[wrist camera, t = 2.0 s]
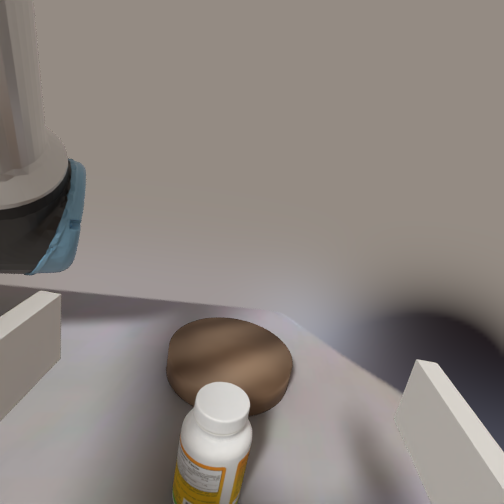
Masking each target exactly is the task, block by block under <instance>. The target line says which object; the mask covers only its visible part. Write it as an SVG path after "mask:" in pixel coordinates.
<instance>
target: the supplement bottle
mask: <svg viewBox="0 0 504 504" xmlns="http://www.w3.org/2000/svg"><path fill="white" fill-rule="evenodd" d="M249 410H250V401H249V398H248V396H247V394H246V393H245V392H244V391H243V390H242V389H241V388H240V387H238V386H236V385H234V384H231V383H227V382H213V383H210V384H207V385H205V386H204V387H202V388H201V389H200V390H199V392H198V393H197V396H196V400H195V405H194V408H193V409H192V410H191V411H190V412H189V413H188V414H187V415H186V417H185V419H184V421H183V424H182V428H181V434H180V440H179V447H178V455H177V462H176V468H175V475H174V482H173V489H172V499H173V504H237V502H238V499H239V495H240V490H241V486H242V481H243V477H244V473H245V468H246V464H247V460H248V456H249V452H250V447H251V442H252V427H251V424H250V422H249V420H248V415H249Z"/></svg>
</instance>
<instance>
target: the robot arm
mask: <svg viewBox="0 0 504 504" xmlns="http://www.w3.org/2000/svg"><path fill="white" fill-rule="evenodd" d="M85 185H86V171H85V167H84V166H83V165H82V164H81V163H79V162H76V161H74V160H73V159H68V157H67V152H66V149H65V146H64V145H63V143H62V141H61V140H60V139H59V137H58V136H57V135H56V134H55V133H54V132H53V131H51V130H50V129H49V128H48V127H46V126H45V117H44V107H43V96H42V86H41V76H40V65H39V54H38V44H37V33H36V24H35V13H34V3H33V0H0V273H9V274H10V273H11V274H24V275H34V274H36V273H54V272H61V271H64V270H65V269H67V268H68V267H69V266H70V265H71V264H72V263H73V260H74V258H75V255H76V251H77V246H78V240H79V234H80V223H81V219H82V214H83V207H84V198H85ZM60 358H61V294H58V293H52V292H47V291H41V290H40V291H39V292H37V293H35V294H34V295H32V296H31V297H29V298H28V299H26V300H25V301H23V302H22V303H20V304H19V305H17V306H16V307H14V308H13V309H11V310H10V311H8V312H7V313H5V314H4V315H2V316H1V317H0V421H1V420H2V419H3V418H4V417H5V416H6V415H7V414H8V413H9V412H10V411H11V410H12V409H13V408H14V407H15V406H16V405H17V403H18V402H19V401H20V400H21V399H22V398H23V397H24V396H25V395H26V394H27V393H28V392H29V391H30V390H31V389H32V388H33V387H34V386H35V385H36V384H37V383H38V381H39V380H40V379H41V378H42V377H43V376H44V375H45V374H46V373H47V372H48V371H49V370H50V369H51V368H52V367H53V366H54V365H55V364H56V363H57V362H58V361H59V360H60ZM394 421H395V423H396V425H397V427H398V430H399V432H400V434H401V436H402V439H403V441H404V443H405V445H406V448H407V450H408V452H409V454H410V457H411V459H412V461H413V463H414V466H415V468H416V470H417V472H418V475H419V477H420V479H421V481H422V484H423V486H424V488H425V490H426V493H427V495H428V497H429V499H430V502H431V504H504V452H503V451H502V449H501V448H500V447H499V445H498V444H497V443H496V441H495V440H494V439H493V437H492V436H491V435H490V433H489V432H488V431H487V429H486V428H485V427H484V425H483V424H482V423H481V421H480V420H479V419H478V417H477V416H476V415H475V413H474V412H473V411H472V409H471V408H470V407H469V405H468V404H467V403H466V401H465V400H464V399H463V397H462V396H461V395H460V393H459V392H458V391H457V389H456V388H455V387H454V385H453V384H452V382H451V381H450V380H449V378H448V377H447V376H446V374H445V373H444V372H443V370H442V369H441V368H440V367H439V365H438V364H437V363H433V362H428V361H422V360H416V362H415V365H414V367H413V370H412V372H411V375H410V378H409V380H408V383H407V385H406V388H405V391H404V393H403V396H402V398H401V401H400V404H399V406H398V409H397V412H396V414H395V417H394Z"/></svg>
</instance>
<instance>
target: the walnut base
mask: <svg viewBox="0 0 504 504" xmlns="http://www.w3.org/2000/svg"><path fill="white" fill-rule="evenodd" d="M291 370H292V357H291V354H290V351H289V350H288V348H287V347H286V345H285V344H284V343H283V342H282V341H281V340H280V339H279V338H278V337H277V336H276V335H274V334H273V333H271V332H270V331H268V330H266V329H264V328H262V327H260V326H258V325H256V324H253V323H250V322H247V321H243V320H238V319H232V318H206V319H200V320H196V321H193V322H191V323H188V324H186V325H184V326H183V327H181V328H180V329H179V330H177V331H176V332H175V334H174V335H173V336H172V338H171V340H170V343H169V351H168V359H167V367H166V373H167V378H168V381H169V383H170V385H171V387H172V388H173V390H174V391H175V392H176V393H177V394H178V396H179V397H180V398H182V399H183V400H184V401H186V402H187V403H188V404H190V405H192V406H193V407H194V405H195V400H196V396H197V393H198V392H199V390H200V389H201V388H202V387H204V386H205V385H207V384H210V383H213V382H227V383H231V384H234V385H236V386H238V387H240V388H241V389H242V390H243V391H244V392H245V393H246V394H247V396H248V398H249V401H250V410H249V415H248V416H253V415H257V414H260V413H263V412H265V411H267V410H270V409H271V408H273V407H274V406H276V405H277V404H278V403H279V402H280V401H281V399H282V398H283V396H284V394H285V392H286V389H287V385H288V381H289V377H290V373H291Z"/></svg>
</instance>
